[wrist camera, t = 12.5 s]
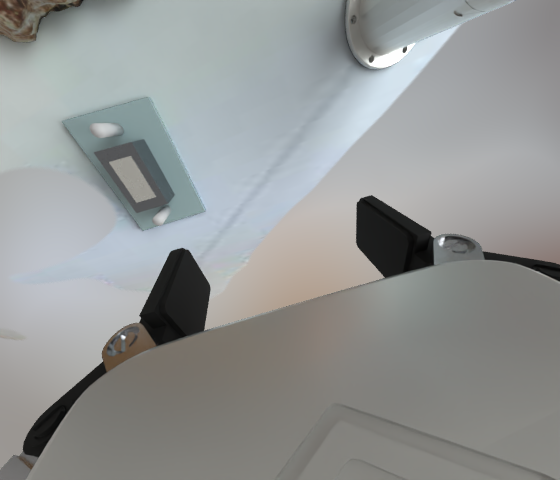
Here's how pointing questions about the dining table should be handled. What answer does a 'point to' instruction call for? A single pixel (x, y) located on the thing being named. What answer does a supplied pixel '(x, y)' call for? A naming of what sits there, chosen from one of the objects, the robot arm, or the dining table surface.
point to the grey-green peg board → (148, 125)
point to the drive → (136, 175)
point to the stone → (28, 16)
